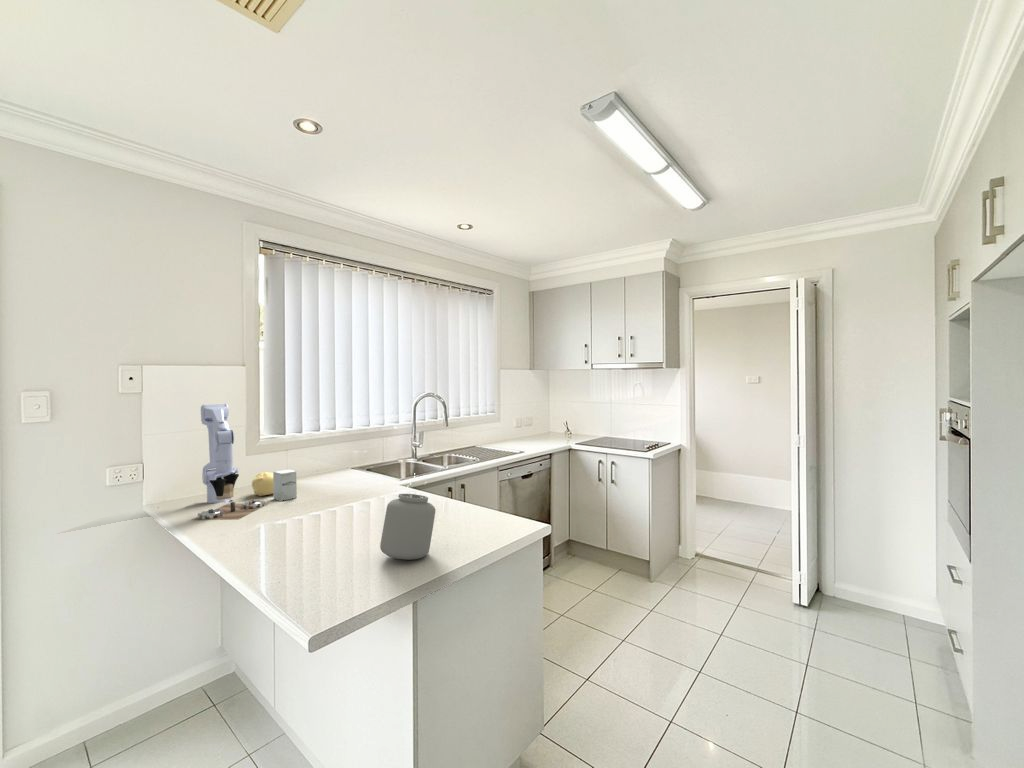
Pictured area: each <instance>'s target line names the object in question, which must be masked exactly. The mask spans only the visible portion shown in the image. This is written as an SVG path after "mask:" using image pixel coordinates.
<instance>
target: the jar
mask: <svg viewBox="0 0 1024 768" xmlns="http://www.w3.org/2000/svg"><path fill="white" fill-rule="evenodd" d="M415 475H416V473H415V472H414V475H413V478H416V476H415ZM416 483H419V481H417V482H416ZM426 483H428V482H427V481H425V484H426ZM409 485H412V482H411V483H409ZM409 485H407V486H406V487H407V490H408V489H409ZM403 492H406V490H404V491H403ZM397 496H398V497H397ZM396 497H397V498H395V499H392V500H391V501H389V502H388V503H387V506H386V509H385V516H384V520H383V527H382V532H381V538H380V543H379V545H380V546H379V549H380V550H381V552H382V553H383V554H384V555H386V556H388V557H390V558H392V559H399V560H411V561H412V560H420V559H422V558H424V557H425V556H427V555H428V554H429V553H430V549H431V548H430V547H431V543H432V539H433V538H434V537H433V530H434V524H435V523H434V522H435V517H436V507H435V506H434V505H433V504H432V503H430V502H429V497H428V496H425V495H421V494H417V493H415V494H414V493H398V495H396ZM436 535H437V534H435V536H436Z"/></svg>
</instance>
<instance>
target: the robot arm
mask: <svg viewBox="0 0 1024 768" xmlns="http://www.w3.org/2000/svg"><path fill="white" fill-rule="evenodd" d="M229 410H230V409H229V405H228V404H227V403H223V404H202V405H201V406H200V421H201V425H204V426H206V428H207V431H208V435H207V436H208V450H209V462H208V463H206V464H205V465H204V466H203V468H202V474H201V476H202V484H203V485H204V486H206V503H207V504H217V503H228V502H227V501H229V500H231V499H232V498H229V499H223V500H217V499H216V496H223V493H224V485H225V484H233V490H234V489H235V484H236V482H237V480H238V477H239V473H238V472H239V468H238V467H233V465H234V464H233V463H234V462H233V459H234V458H233V456H234V455H233V445H234V442H235V436H234V435H235V433H234V431H233V429H230V425H229V422H228V417H229V412H230V411H229Z"/></svg>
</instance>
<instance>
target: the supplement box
mask: <svg viewBox="0 0 1024 768" xmlns="http://www.w3.org/2000/svg"><path fill="white" fill-rule="evenodd" d="M272 473H273V491H274V494H273V500H275V499H276V501H278V500H279V502H283V500H284V501H288V500H291V499H292V498H293V499H297V498H296V497H298V496H297V493H298V492H297V470H293V469H284V470H276V471H273V472H272ZM293 499H292V500H293Z"/></svg>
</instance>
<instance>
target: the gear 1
mask: <svg viewBox="0 0 1024 768" xmlns="http://www.w3.org/2000/svg"><path fill="white" fill-rule="evenodd" d="M215 509H216V510H215ZM215 509H212V508H210V509H208V510H204V511H201V512H198V513H197V517H198V519H202V520H201V521H206V520H205V519H209V518H210V519H213V518H215V517H217V518H218V517H220V516H222V515H224V511H223V510H219V509H217V508H215Z"/></svg>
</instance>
